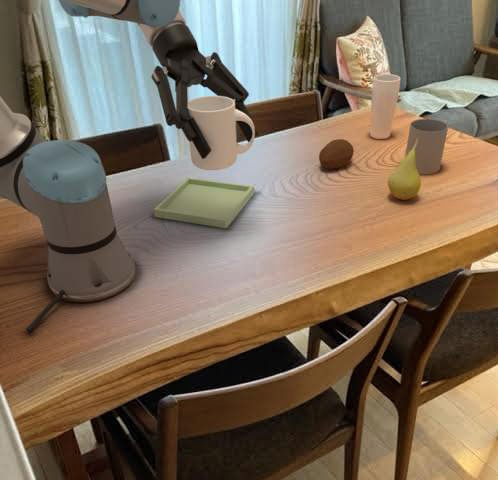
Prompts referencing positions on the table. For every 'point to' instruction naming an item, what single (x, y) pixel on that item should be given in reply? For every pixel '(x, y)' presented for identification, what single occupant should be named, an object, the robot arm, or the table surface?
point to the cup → (427, 144)
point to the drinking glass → (383, 104)
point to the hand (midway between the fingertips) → (230, 146)
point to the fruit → (405, 178)
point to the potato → (336, 154)
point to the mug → (217, 131)
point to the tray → (205, 202)
